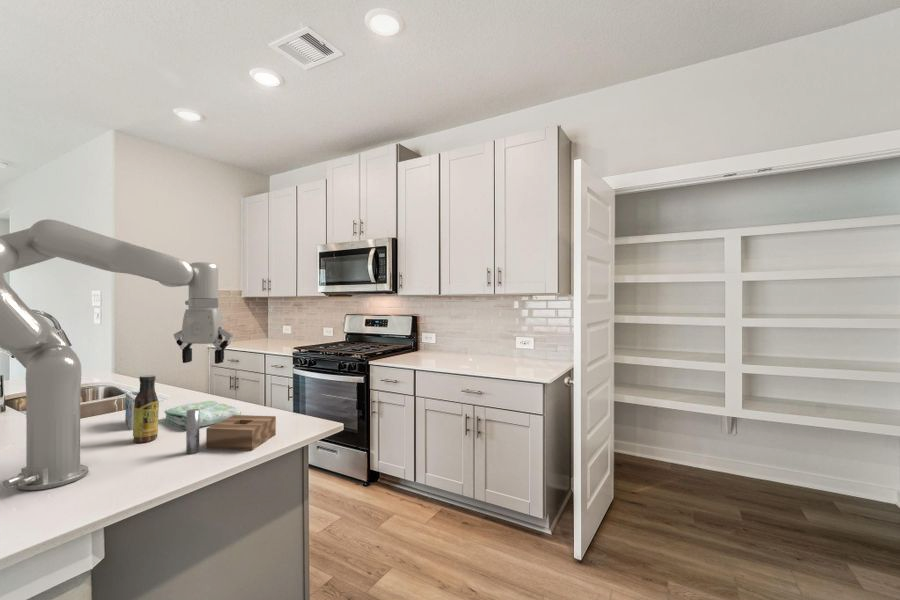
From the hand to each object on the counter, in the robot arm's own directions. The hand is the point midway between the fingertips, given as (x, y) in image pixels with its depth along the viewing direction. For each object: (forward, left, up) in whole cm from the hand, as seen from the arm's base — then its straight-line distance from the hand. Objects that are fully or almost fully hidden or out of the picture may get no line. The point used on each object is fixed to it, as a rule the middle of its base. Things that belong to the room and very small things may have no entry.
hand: (203, 362), depth 123 cm
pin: (-4, +1, -25) cm, 25 cm away
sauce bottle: (+4, +22, -25) cm, 34 cm away
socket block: (+6, -8, -25) cm, 27 cm away
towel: (+26, +19, -26) cm, 41 cm away
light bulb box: (+18, +36, -26) cm, 47 cm away
